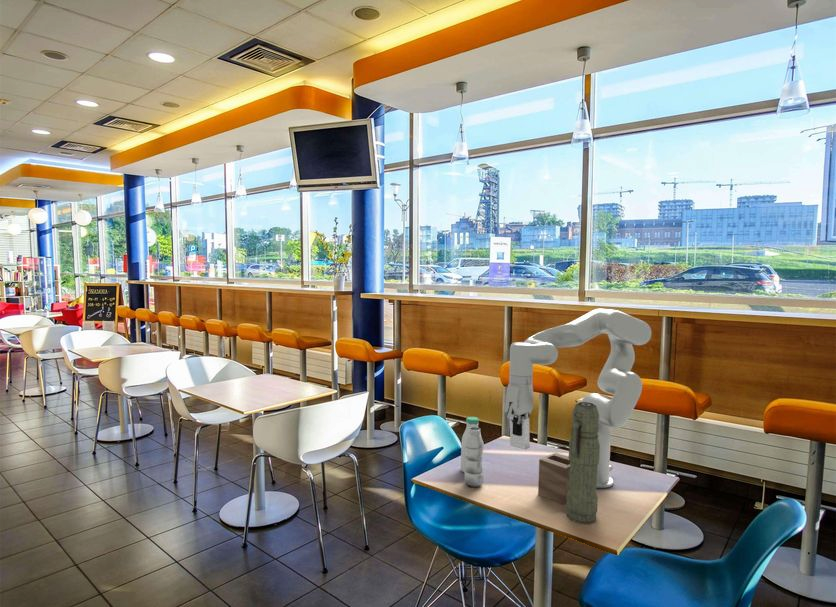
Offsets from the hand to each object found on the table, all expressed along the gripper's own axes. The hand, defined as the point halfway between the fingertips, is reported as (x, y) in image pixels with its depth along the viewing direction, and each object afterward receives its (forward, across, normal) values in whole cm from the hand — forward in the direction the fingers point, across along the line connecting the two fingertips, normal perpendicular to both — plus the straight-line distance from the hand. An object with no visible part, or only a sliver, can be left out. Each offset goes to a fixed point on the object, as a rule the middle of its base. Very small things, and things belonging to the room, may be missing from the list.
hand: (519, 433), depth 170 cm
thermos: (+21, -1, +23) cm, 31 cm away
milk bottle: (+21, -3, -23) cm, 31 cm away
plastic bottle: (+21, +6, -14) cm, 26 cm away
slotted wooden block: (+21, -10, +10) cm, 25 cm away
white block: (+4, 0, 0) cm, 4 cm away
